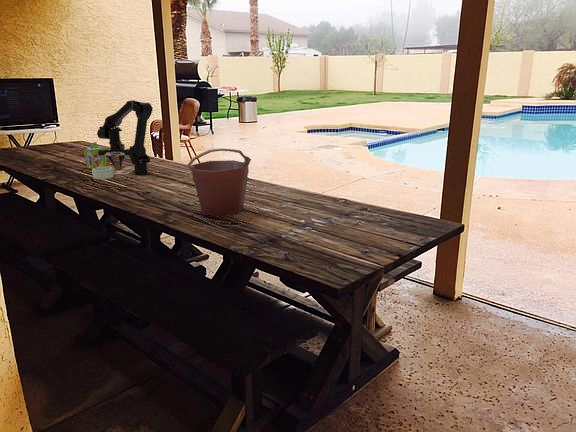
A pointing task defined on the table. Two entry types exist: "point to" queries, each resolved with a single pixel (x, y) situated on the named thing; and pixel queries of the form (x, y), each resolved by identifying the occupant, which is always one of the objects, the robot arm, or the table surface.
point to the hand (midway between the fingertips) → (118, 167)
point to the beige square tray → (120, 169)
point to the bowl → (102, 172)
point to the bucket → (220, 184)
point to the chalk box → (94, 157)
